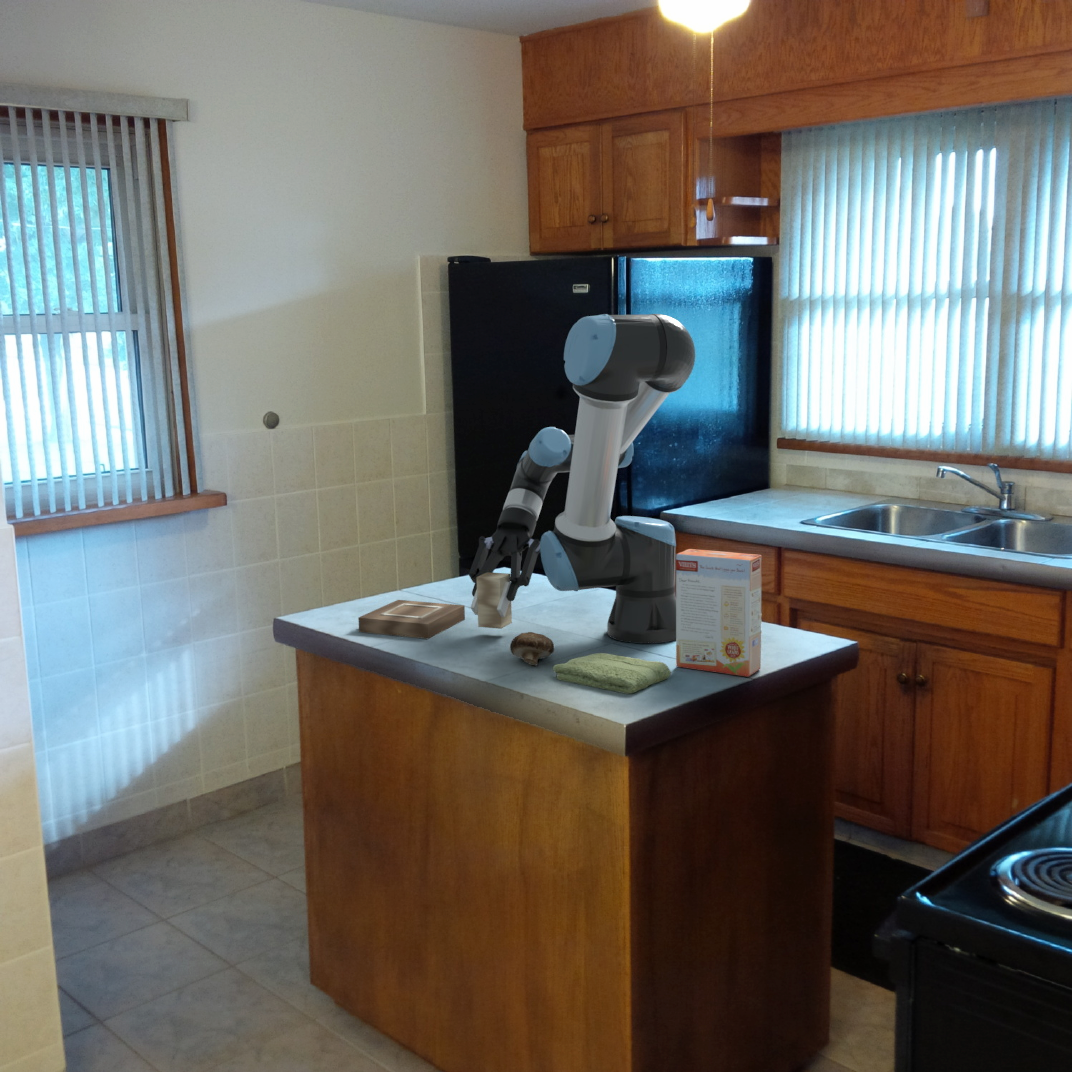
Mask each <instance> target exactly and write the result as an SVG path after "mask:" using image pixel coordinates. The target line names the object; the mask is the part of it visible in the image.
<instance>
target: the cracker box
mask: <svg viewBox="0 0 1072 1072" xmlns="http://www.w3.org/2000/svg"><path fill="white" fill-rule="evenodd" d="M675 597H676V641H675V643H676V645H675V647H676V651H675V655H676V656H675V659H676V662H675V663H676V664H675V665H676V667H679V668H684V669H693V670H698V671H706V672H713V673H718V674H719V673H721V674H727V675H733V676H737V677H738V676H740V677H746V678H748V677H751V675H753V674H755V673H756V672H757V671H759V670H761V660H762V659H761V657H762V656H761V655H762V654H761V653H762V652H761V650H762V649H761V648H762V646H761V645H762V643H761V642H762V632H761V631H762V623H761V621H762V615H761V614H762V554H755V553H754V554H753V553H742V552H732V551H718V550H709V549H708V550H707V549H694V548H688V549H687V548H686V549H685V550H683V551H680V552H678V553H675Z"/></svg>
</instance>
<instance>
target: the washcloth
mask: <svg viewBox="0 0 1072 1072" xmlns="http://www.w3.org/2000/svg"><path fill="white" fill-rule="evenodd" d="M552 671H553V672H554V673H555V674H557V675H556V679H557V680H559V681H564V682H566V683H567V682H568V683H573V684H577V685H583V686H586V687H593V688H598V689H603V690H606V691H607V690H608V691H613V692H617V693H623V694H626V695H627V694H635V693H636V692H638V691H641V690H645V689H647V688H648V687H649V686H650V685H653V684H658V683H659V682H663V681H665V680H667V679H668V678H670V677H671V674H672V673H671V670H670V668H669V667H668V665H667V664H666V663H664V662H661V661H658V660H657V661H655V660H644V659H641V658H638V657H637V658H635V657H634V658H633V657H630V656H624V655H623V656H622V655H618V654H612V653H605V652H601V653H600V652H598V653H592V654H589V655H583V656H579V657H575V658H571V659H569V660H568V661H567V662H565V663H559V664H555V665H553V667H552Z"/></svg>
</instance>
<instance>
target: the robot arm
mask: <svg viewBox="0 0 1072 1072" xmlns="http://www.w3.org/2000/svg"><path fill="white" fill-rule="evenodd" d="M563 350H564V351H563V361H565V363H564V365H563V366H564V372H565V375H566V377H567V380H569V382H570V383H572V389H573V391H574V392H575V393H576V394H577V395H578V396H579V401H578V402H579V403H578V409H577V415H576V416H577V417H576V425H575V431H574V434H567V433H566V432H565V431H564V430H563V429H560V428H556V426H549V427H544V428H542V429H540V431H538V433H536V435H535V436H534V438H533V439H532V440H531V442H530V443H529V447H528V449H527V450H525V451H524V452H523V453H522V455H521V456H520V458H519V461H518V462H517V465H516V471H515V472H514V475H513V479H512V482H511V485H510V488H509V489H508V490H509V491H508V493H507V496H506V499H505V502H504V503H503V507H502V511H501V513H500V516H499V518H498V521H497V526H496V531H494V533H493V534H492V535H491V536H490V537H486V538H485V536H484V535H481V536H480V537H479V538H478V547H477V551H476V553H475V556H474V559H473V562H472V564H471V567H470V570H469V572H468V576H469V578H470V579H471V582H472V583H474V584H473V585H474V586H473V589H472V590H471V594H472V597H473V599H472V602H471V604H470V609H471V610H472V613H473V614H474V615H476V616H478V603H477V577H478V576H480V575H483V574H485V573H487V572H492V573H494V571H495V570H496V568H497V567H498V565H499V564H500V562H501V561H503V560H504V558H505V557H507V556H510V557H511V558H510V559H511V560H510V578H509V579H510V581H511V583H510V582H507V581H506V583H505V586H504V589H503V592H502V595H501V599H500V601H499V604H498V607H497V611H498V612H499V614H500V616H501V617H505V615H506V612H507V609H508V606H509V602H510V601H511V602H514V600H515V599H516V596H517V593H518V589H519V588H520V587H528V586H529V585H530V582H531V580H532V576H533V572H534V569H535V565H536V562H537V558H538V555H540V557H541V558H540V559H541V563H542V567H543V570H544V573H545V575H546V577H547V581H548V582H549V584H550V585H551V586H552V587H553V589H554V590H557V591H559V592H569V591H570V592H571V591H572V592H578V591H582V590H592V589H599V588H608V587H615V598H614V600H613V604H612V607H611V610H610V614H609V615H608V616H609V617H608V620H607V626H606V627H607V629H606V630H607V632H606V633H607V636H609V637H610V638H611V639H614V640H616V641H621V642H625V643H633V644H659V643H667V642H673V641H675V640H676V547H677V543H676V542H677V541H676V533H675V531H676V530H675V527H674V525H672V524H671V523H670V522H668V521H667V520H662V519H659V518H652V517H647V516H646V517H644V516H634V515H632V516H631V515H622V516H621V515H620V516H617V517H616V518H615V521H613V520H612V519H611V512H612V508H613V501H614V495H615V494H614V493H615V487H616V480H617V476H618V475H617V474H618V469H621V468H626V467H628V466H629V465H630V464H631V463H632V461H633V457H634V441H635V439H636V438H637V437H638V435H639V434H640V433H641V432H642V430H643V429H644V428H645V426H646V425H647V424H648V422H649V421H650V420H651V418H652V417H653V416H654V414H655V413H656V411H657V410H658V409H659V408H660V407H661V406H662V404H663V403H664V402H665V400H666V399H667V397H668V396H669V395H670V394H672V393H675V392H677V391H679V390H680V389H681V388H682V387H683V385H684V384H685V383H686V382H687V380H688V379H689V378H690V375H692V372H693V370H694V367H695V362H696V347H695V343H694V340H693V337H692V336H691V334H690V332H689V331H688V330H687V329H686V327H685V326H684V325H683V323H681V322H680V321H679V320H677V319H676V318H673V317H671V316H670V315H665V314H662V313H649V314H608V313H603V314H598V315H590V316H589V315H587V316H583V317H581V318H580V319H578V320H577V322H575V323H574V324H573V325H572V327H571V328H570V330H569V332H568V334H567V338H566V339H565V344H564V349H563ZM558 473H569V476H568V477H569V478H568V484H567V489H566V490H567V491H566V499H565V506H564V511H563V512H561V513H559V514H558V515H557V516H556V517H555V520H554V521H555V522H554V527H553V531H552V530H548V531H546V532H544V533H543V534H542V535H541V538H540V540H539V539H538V538H535V539H533V535H534V533H535V530H536V526H537V521H538V519H539V515H540V513H541V510H542V506H543V503H544V500H545V497H546V494H547V492H548V489H549V486H550V485H551V483H552V481H553V480H554V478H555V477H556V475H557V474H558ZM492 545H493V547H492ZM527 548H528V549H527ZM490 549H491V553H490V554H489V550H490ZM526 549H527V553H526V555H525V559H524V562H523V565H522V567H521V564H522V563H521V562H522V559H523V552H524V551H525V550H526ZM488 554H489V556H488ZM521 568H522V569H521Z"/></svg>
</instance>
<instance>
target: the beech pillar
mask: <svg viewBox="0 0 1072 1072" xmlns="http://www.w3.org/2000/svg"><path fill="white" fill-rule="evenodd" d="M510 577H511V573H504V572H501V573H500V572H493V573H492V572H487V573H485V574H483V575H480V576H478V577H477V603H478V615H477V626H478V628H486V629H487V628H489V629H501V630H502V629H504V628H505V627H507V626H509V625H511V624H512V623H513V620H512V618H513V615H512V614H513V613H512V601H510V602H509V606H508V609H507V612H506V615H505V617H501V616H500V614H499V612H498V611H497V607H498V604H499V601H500V599H501V595H502V592H503V589H504V586H505V583H506V581H507V582H510V583H511V581H510V579H509V578H510Z"/></svg>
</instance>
